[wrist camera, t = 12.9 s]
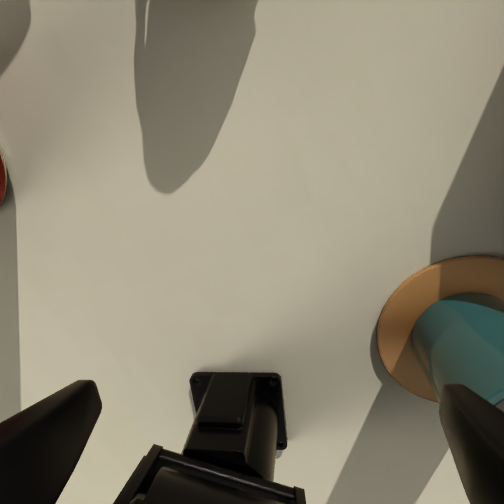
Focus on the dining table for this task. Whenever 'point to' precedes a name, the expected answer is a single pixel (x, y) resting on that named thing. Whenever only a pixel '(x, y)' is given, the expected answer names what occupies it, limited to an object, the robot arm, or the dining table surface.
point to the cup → (463, 344)
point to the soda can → (2, 178)
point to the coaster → (418, 300)
